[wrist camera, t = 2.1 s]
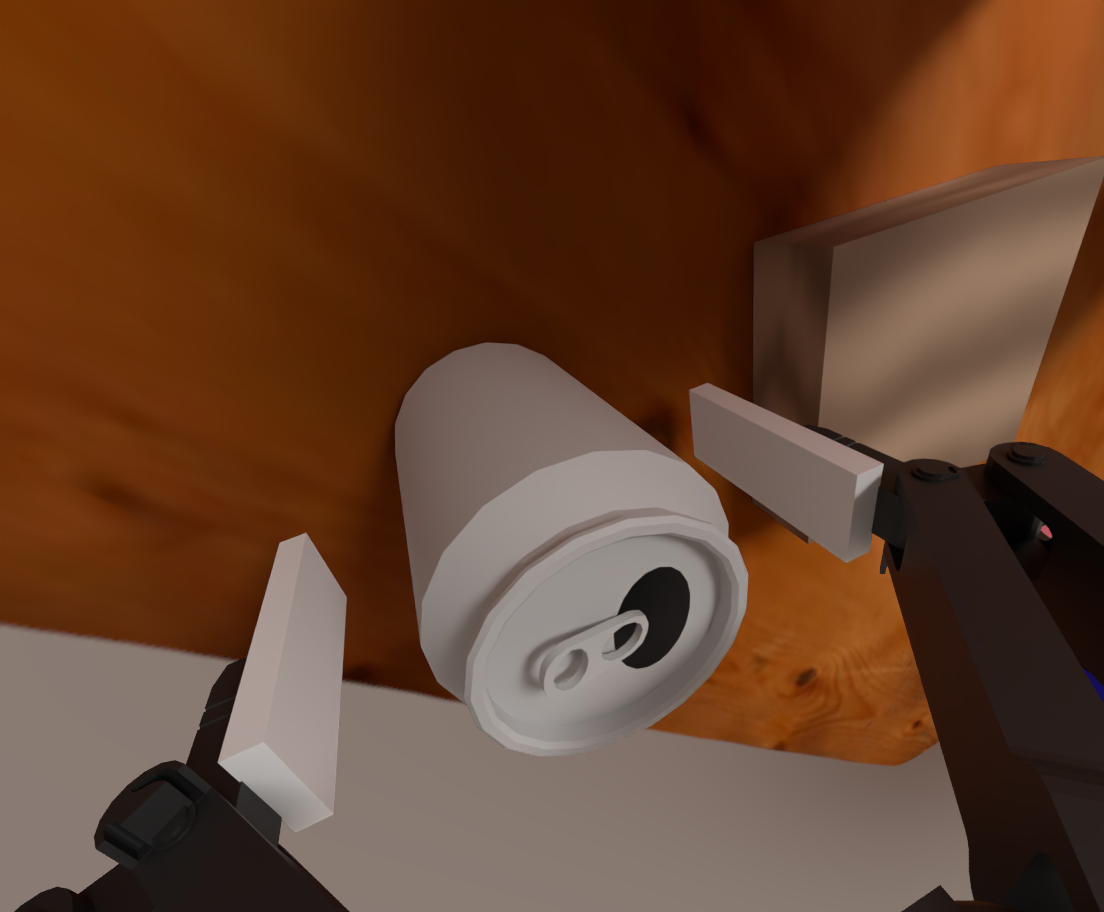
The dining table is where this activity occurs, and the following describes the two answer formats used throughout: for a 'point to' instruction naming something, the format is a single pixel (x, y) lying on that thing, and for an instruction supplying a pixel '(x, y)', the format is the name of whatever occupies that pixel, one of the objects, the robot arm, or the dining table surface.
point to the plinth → (921, 311)
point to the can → (557, 554)
